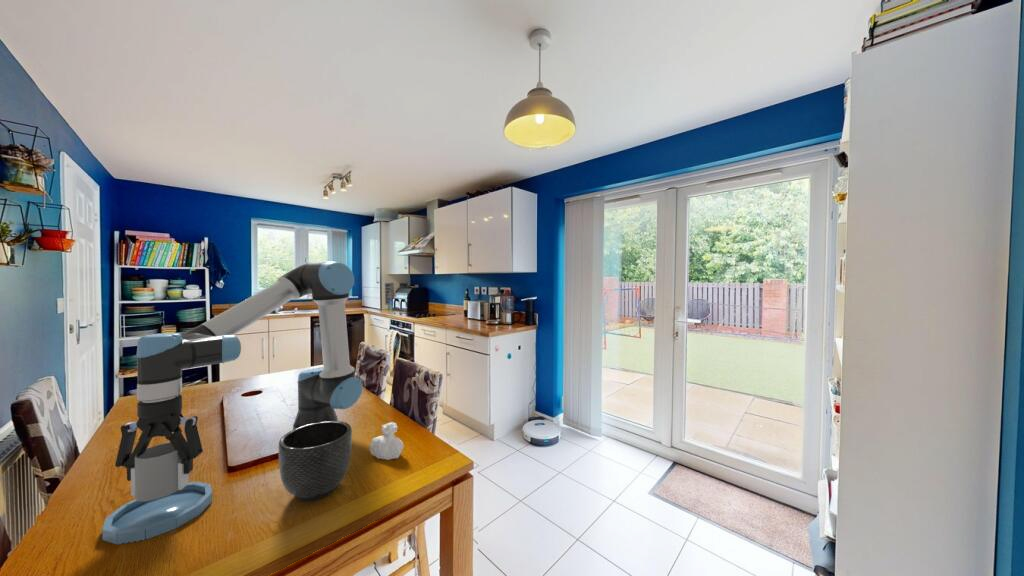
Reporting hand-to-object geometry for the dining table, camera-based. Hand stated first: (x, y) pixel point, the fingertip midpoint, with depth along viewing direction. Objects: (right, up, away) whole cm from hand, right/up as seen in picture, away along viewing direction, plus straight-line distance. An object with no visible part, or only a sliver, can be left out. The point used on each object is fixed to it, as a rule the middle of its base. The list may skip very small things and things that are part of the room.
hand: (161, 489), depth 81 cm
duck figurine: (+45, -6, +29) cm, 54 cm away
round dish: (0, -6, 0) cm, 6 cm away
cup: (0, -1, 0) cm, 1 cm away
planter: (+33, -7, +10) cm, 35 cm away
